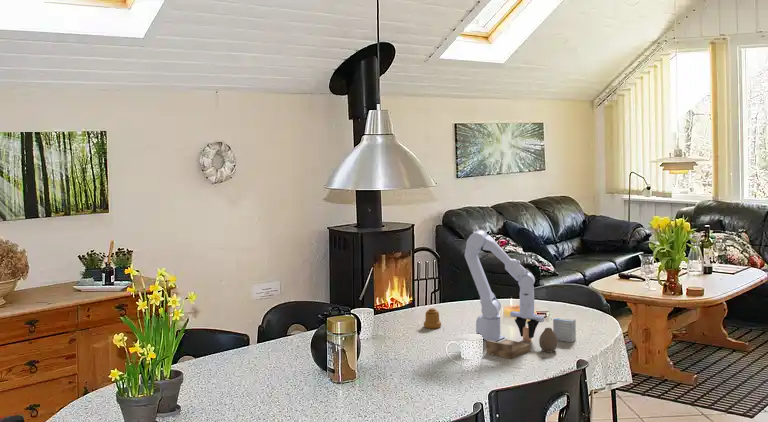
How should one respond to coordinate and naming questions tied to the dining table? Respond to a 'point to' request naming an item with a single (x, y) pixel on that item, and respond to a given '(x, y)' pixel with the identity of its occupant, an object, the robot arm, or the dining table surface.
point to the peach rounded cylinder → (526, 334)
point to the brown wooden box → (506, 348)
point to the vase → (548, 340)
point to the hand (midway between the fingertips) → (527, 336)
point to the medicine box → (565, 329)
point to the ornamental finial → (432, 319)
